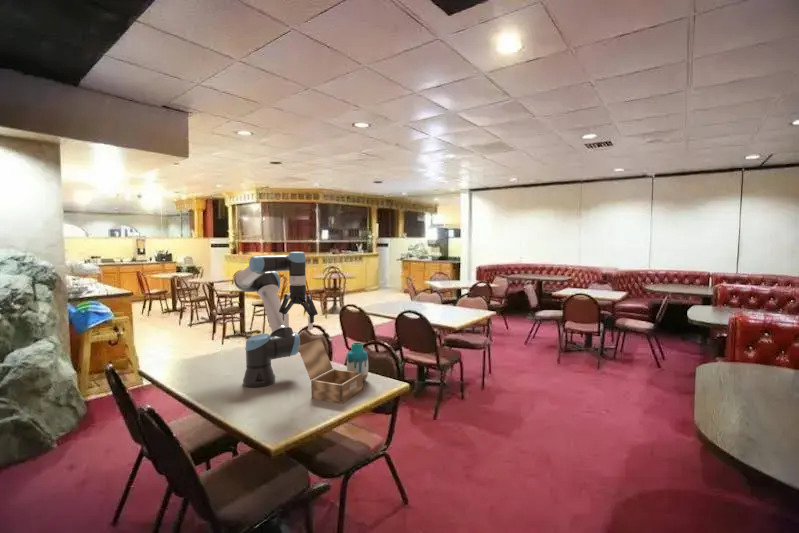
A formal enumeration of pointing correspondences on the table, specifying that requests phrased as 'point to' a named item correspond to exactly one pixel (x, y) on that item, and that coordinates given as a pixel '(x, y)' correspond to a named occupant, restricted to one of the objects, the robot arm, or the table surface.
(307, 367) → the flap
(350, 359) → the vase
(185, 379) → the table surface
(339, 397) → the wooden box
